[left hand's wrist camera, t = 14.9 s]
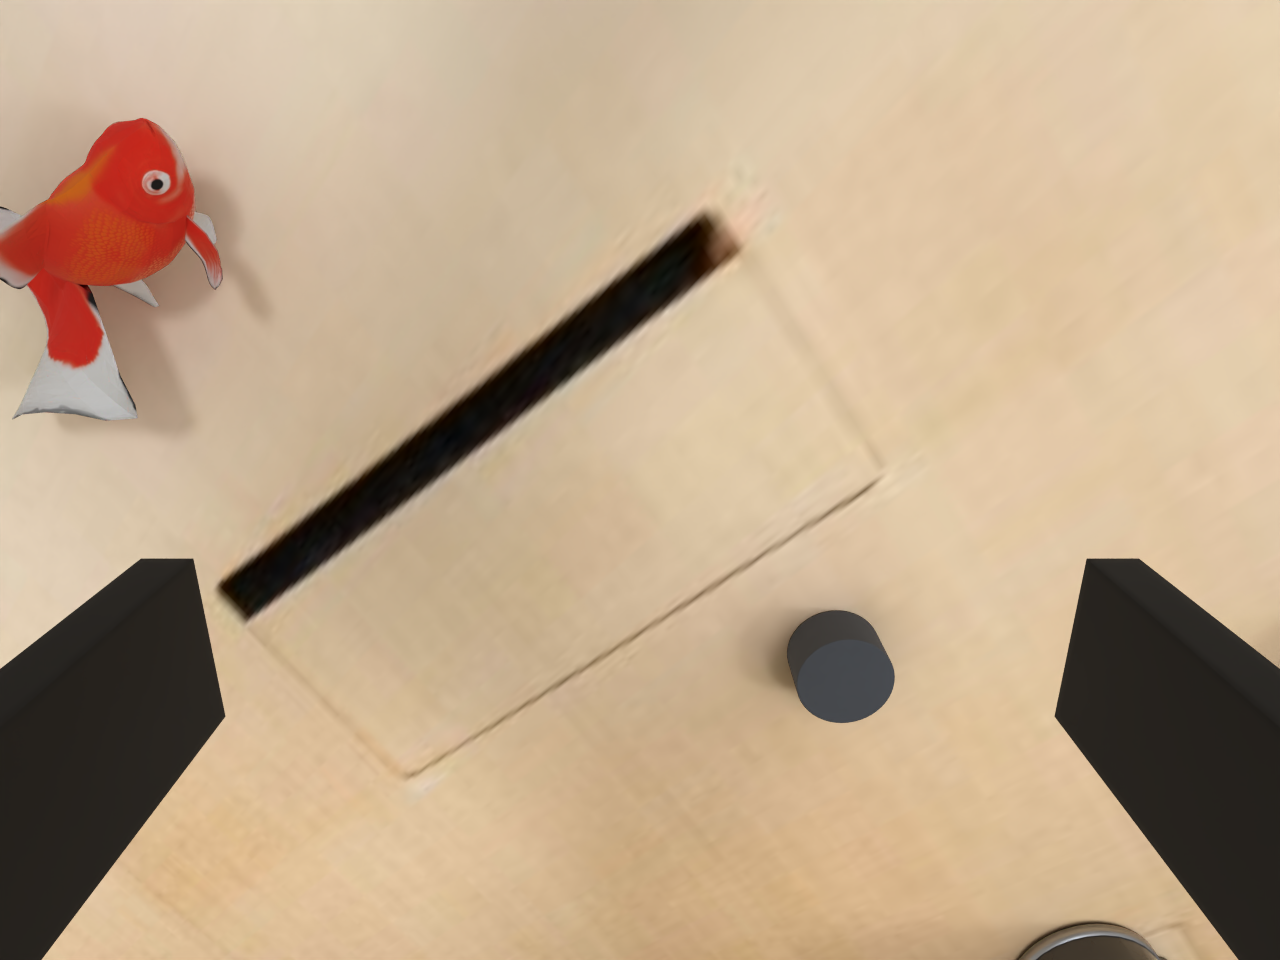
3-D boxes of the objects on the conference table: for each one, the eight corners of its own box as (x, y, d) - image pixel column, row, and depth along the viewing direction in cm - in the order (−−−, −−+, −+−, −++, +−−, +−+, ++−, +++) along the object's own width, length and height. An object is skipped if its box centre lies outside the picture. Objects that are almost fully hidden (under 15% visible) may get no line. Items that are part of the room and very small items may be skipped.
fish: (343, 324, 35) (86, 345, 27) (174, 448, 44) (-59, 492, 36) (245, 83, 35) (-43, 29, 27) (96, 256, 44) (-155, 256, 35)
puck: (789, 610, 45) (799, 639, 42) (883, 610, 45) (900, 639, 42) (784, 690, 47) (793, 723, 44) (874, 689, 47) (889, 723, 44)
